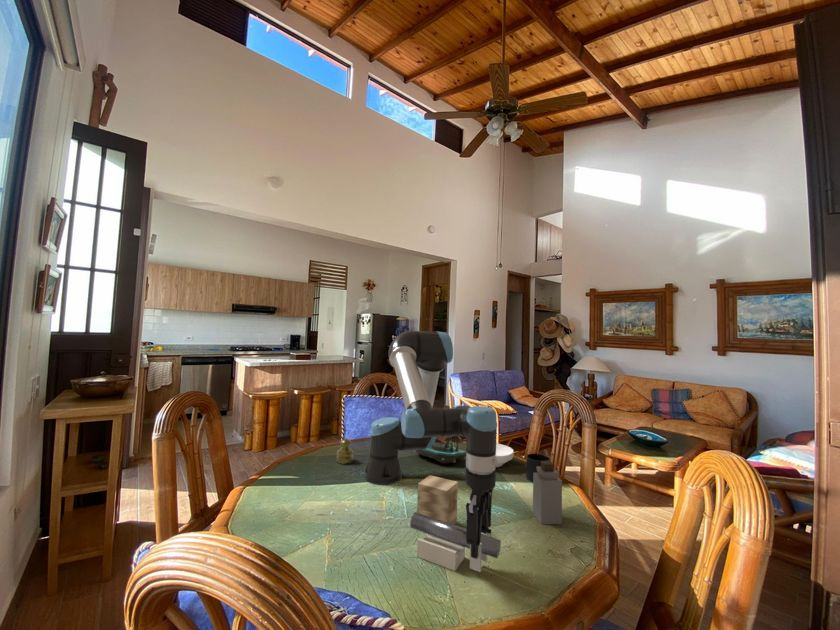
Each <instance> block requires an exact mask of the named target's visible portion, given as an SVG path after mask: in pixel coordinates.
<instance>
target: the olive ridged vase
mask: <svg viewBox="0 0 840 630" xmlns="http://www.w3.org/2000/svg"><path fill="white" fill-rule="evenodd" d="M339 443H340V445H341V447H340V448H339V449H338V450H337V451H336V462H338V463H337V464H340V463H341V464H340V465H347V464H346V463H348V464H351V463H352V462H353V461H354V450H353V449H351V448H350V447H349V445H350V444H351V443H352V440H350V439H348V438H344V439H342V440H340V441H339ZM350 462H351V463H350Z"/></svg>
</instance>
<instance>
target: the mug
mask: <svg viewBox="0 0 840 630" xmlns="http://www.w3.org/2000/svg"><path fill="white" fill-rule="evenodd" d="M525 460H526V462H525V463H526V466H525V467H526V468H525V473H526V475H525V476H526V479H527V480H528V481H530V482H532V483H533V473H538V472H537V468H536V467H541V461H551V458H550V456H548V455H544V454H542V453H529V454H526V459H525Z"/></svg>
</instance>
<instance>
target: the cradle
mask: <svg viewBox="0 0 840 630" xmlns="http://www.w3.org/2000/svg"><path fill="white" fill-rule="evenodd" d="M416 543H417V544H416V547H417V548H416V557H417V558H420V559H422V560H426V561H428V562H430V563H433V564H436V565H438V566H440V567H443V568H446V569H448V570H452V571H454V572H456V571H457V569H458V568H459V566H460V565H461V564H462V562H463V561H464V560H465V558H466V547H463V546H461V545H458V544H455V543H452V542H449V541H447V540H444V539H441V538H438V537H435V536H432V535H430V534H426V536H425V537H424V538H421V537H418V538H417V542H416Z"/></svg>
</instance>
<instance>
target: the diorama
mask: <svg viewBox="0 0 840 630" xmlns="http://www.w3.org/2000/svg"><path fill="white" fill-rule="evenodd" d="M464 441H465V440H464V439H463V436H446V437H445V440H444V439H443V438H442V437H436V438H435V442H434V444H433V446H432V447H431V448H429V449H423V450H414V451H415V452H416V453H417V454H419V455H420V456H422V457H426V458H431V459H433V460H435V461H437V462H439V463H441V464H442V465H446V464H447V465H448V464H450V463H451V464H452V463H456V461H457V460H462V459H464V458H466V451H465V450H464V451H463V450H461V449H459V444H463V443H464ZM450 442H451V443H450ZM449 443H450V444H449ZM455 443H456V447H455Z"/></svg>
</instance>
